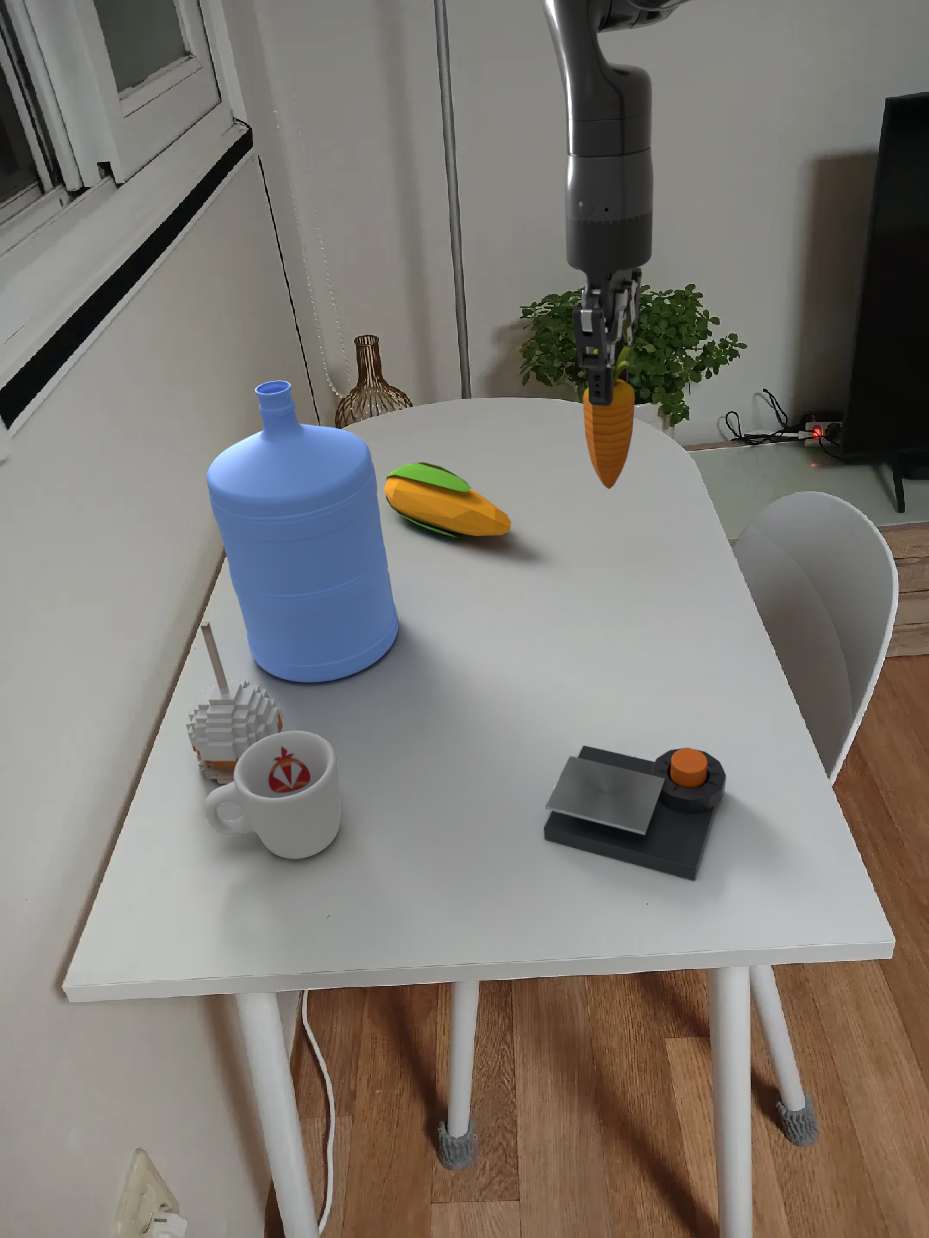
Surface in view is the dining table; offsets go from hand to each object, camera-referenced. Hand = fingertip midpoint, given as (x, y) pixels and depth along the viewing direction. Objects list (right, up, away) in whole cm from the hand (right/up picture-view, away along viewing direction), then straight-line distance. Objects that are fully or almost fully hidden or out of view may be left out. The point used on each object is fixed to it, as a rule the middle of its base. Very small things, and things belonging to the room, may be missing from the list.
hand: (608, 392), depth 92 cm
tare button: (+4, -35, -16) cm, 38 cm away
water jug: (-29, -24, +8) cm, 38 cm away
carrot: (+1, -9, +6) cm, 11 cm away
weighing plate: (-3, -36, -17) cm, 40 cm away
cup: (-29, -40, -14) cm, 51 cm away
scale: (0, -38, -15) cm, 41 cm away
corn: (-16, -11, +26) cm, 32 cm away
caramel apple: (-34, -35, -5) cm, 49 cm away
